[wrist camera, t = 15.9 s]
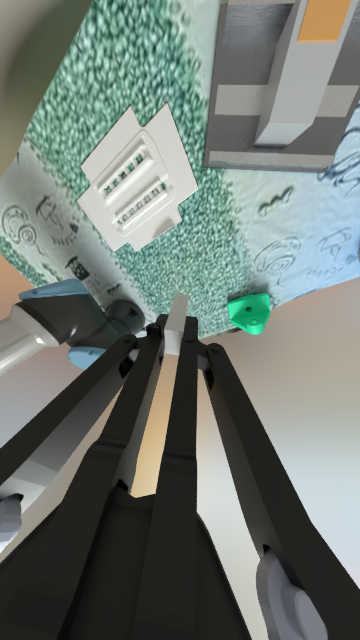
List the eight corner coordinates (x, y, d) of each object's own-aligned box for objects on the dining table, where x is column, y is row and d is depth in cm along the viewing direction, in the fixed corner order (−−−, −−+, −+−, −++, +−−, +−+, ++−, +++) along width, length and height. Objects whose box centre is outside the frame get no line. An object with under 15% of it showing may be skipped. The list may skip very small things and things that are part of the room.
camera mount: (265, 290, 44) (280, 306, 35) (267, 310, 47) (281, 329, 39) (226, 300, 47) (231, 317, 39) (230, 318, 51) (235, 338, 43)
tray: (67, 186, 36) (55, 182, 33) (158, 81, 26) (153, 62, 23) (122, 262, 45) (117, 264, 42) (204, 205, 35) (205, 203, 32)
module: (253, 146, 27) (269, 121, 20) (276, 44, 21) (310, -36, 15) (285, 147, 27) (313, 122, 20) (319, 43, 21) (373, -39, 14)
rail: (203, 167, 30) (203, 162, 28) (220, 12, 21) (222, -19, 18) (322, 173, 29) (335, 168, 26) (398, 7, 19) (430, -29, 17)
